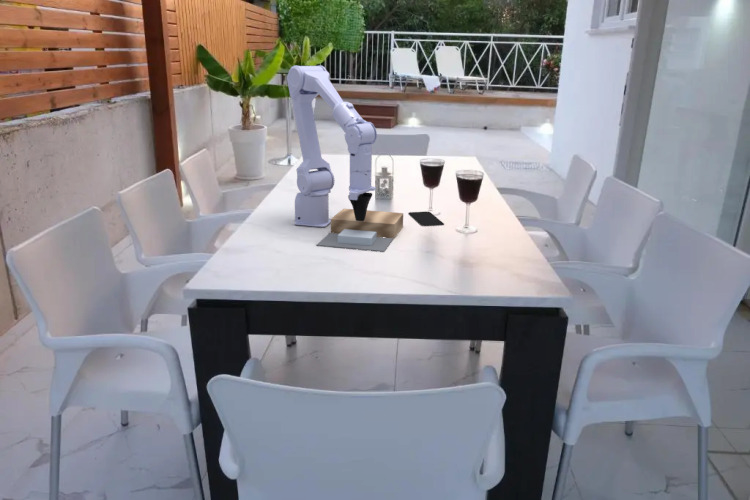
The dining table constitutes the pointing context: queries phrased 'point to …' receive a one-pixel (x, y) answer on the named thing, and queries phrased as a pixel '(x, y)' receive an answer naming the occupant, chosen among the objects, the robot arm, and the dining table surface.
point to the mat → (378, 245)
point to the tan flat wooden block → (369, 222)
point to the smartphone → (425, 219)
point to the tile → (357, 237)
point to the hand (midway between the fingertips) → (360, 220)
